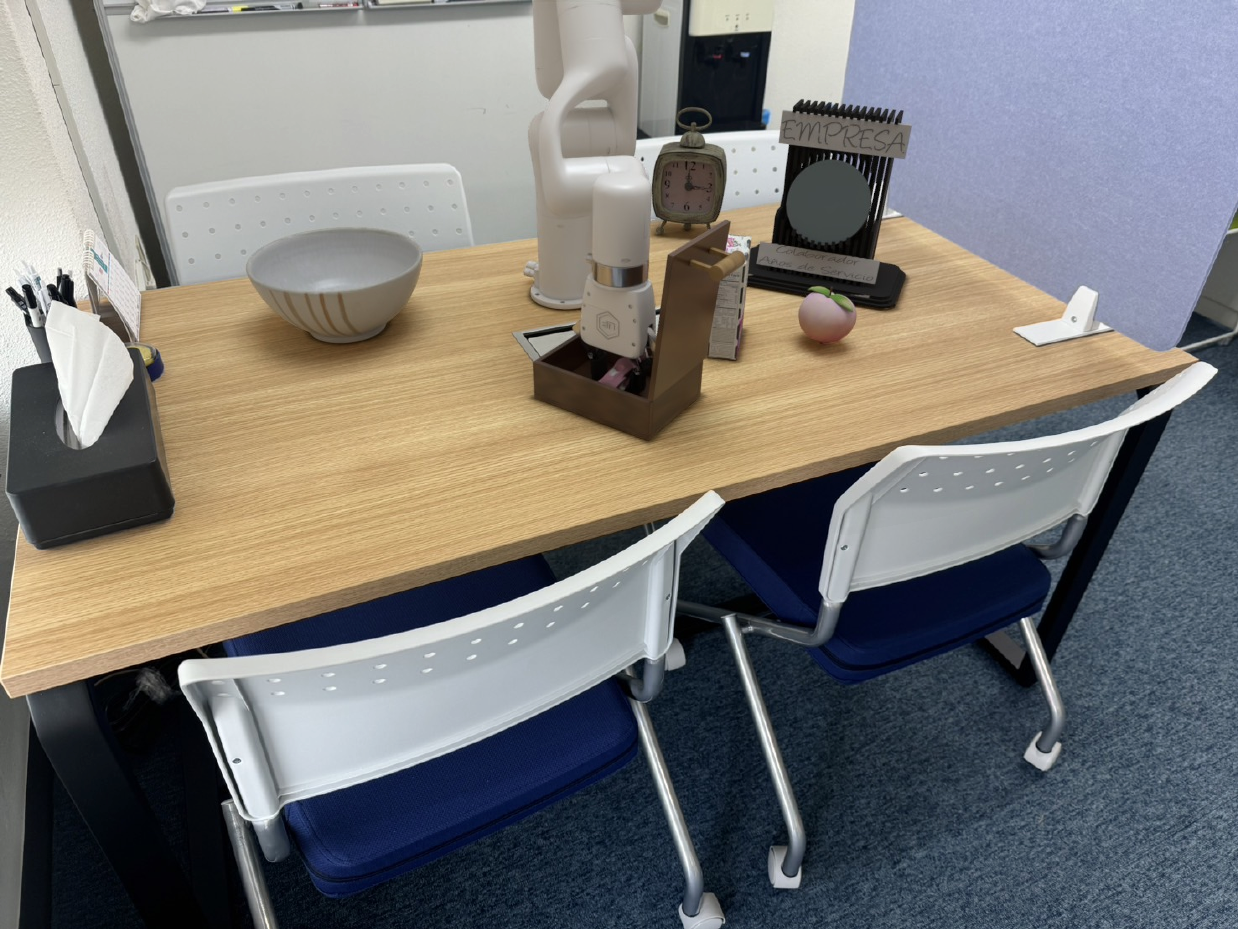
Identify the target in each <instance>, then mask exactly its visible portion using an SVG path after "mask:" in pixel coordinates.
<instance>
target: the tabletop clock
mask: <svg viewBox="0 0 1238 929" xmlns="http://www.w3.org/2000/svg"><path fill="white" fill-rule="evenodd" d="M687 112H699V113H703V114H705V115H706V116H707V117H708V119H709V122H708V123H707V124H705V125H702V126H697V123H696V122H695V121H693V122H691V123H690V125H685V124H683V123H681V122H680V121H679V118H680V116H681V115H683V114H684V113H687ZM675 121H676V124H677V125H678V126H679V127H680V128H682V129H684V130H688V131H686V132H684V133H683V134H682V136H681V138H680V139H679V141H671V142H668V143H667V142H666V143H665V144H663V145H662V147H661V149H660V151H659V153H658V155H657V157H656V160H655V163H654V166H653V172H652V180H651V188H652V201H651V205H652V209H653V214H654V216H655V217H656V218H658V219H659V220H661V221H662V223H661V226H658V227H657V228H656V230H655V232H656V234H657V235H658V236H662V235H663V234H664V232H665V230H664V227H665V226H666V225H667V223H675V224H682V225H683V229H685V230H690V229H692V225H705V226H706V229H707V231H708V230H709V229H711V228H712V227H711V224H712V223H715V222H717V220H718V219H719V217H720V214H721V211H722V207H723V202H724V197H725V191H726V186H727V180H728V178H727V177H728V174H727V173H728V163H727V162H728V161H727V155H726V151H725V149H724V148H723V147H721V146H719V145H717V144H714V143H709V142H708V143H707V142H706V138H705V137H704V135H703V134H702V133H701V132H700V131H702V130H703V131H704V130H706V129H707V128H709V127H710V126H711V125H712V123H713V118H712V115H711V114H710V113H709V111H707V110H706V109H705V108H701V107H696V106H695V107H693V106H691V107H685V108H683V109H681V110H679V111H678V113H677V114H676V117H675Z"/></svg>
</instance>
